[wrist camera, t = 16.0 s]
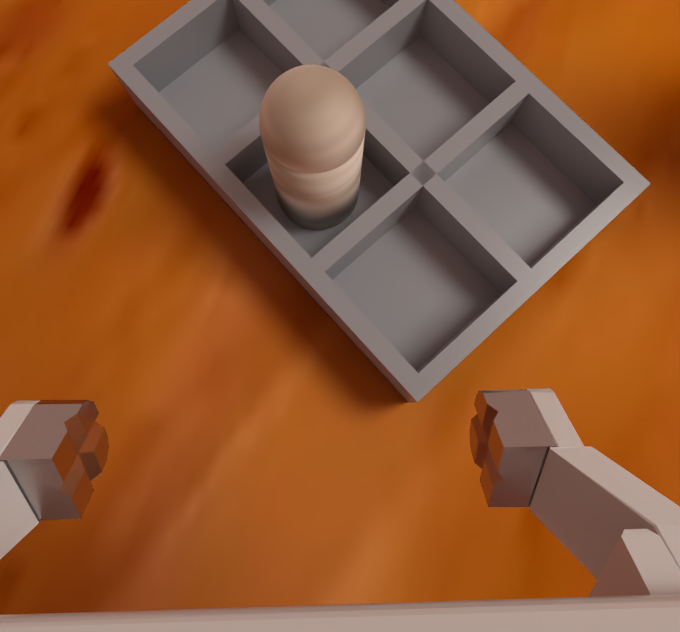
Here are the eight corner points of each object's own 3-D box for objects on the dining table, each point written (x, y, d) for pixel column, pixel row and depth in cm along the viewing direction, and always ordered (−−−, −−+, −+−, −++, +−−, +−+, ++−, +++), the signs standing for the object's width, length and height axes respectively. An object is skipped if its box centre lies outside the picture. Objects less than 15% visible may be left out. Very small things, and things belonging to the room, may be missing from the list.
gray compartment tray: (135, 103, 32) (107, 63, 28) (335, -54, 34) (334, -111, 30) (407, 402, 29) (417, 402, 25) (613, 210, 30) (651, 183, 27)
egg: (260, 187, 30) (226, 85, 20) (322, 138, 30) (316, 17, 21) (313, 246, 29) (303, 169, 20) (375, 194, 30) (393, 96, 20)
